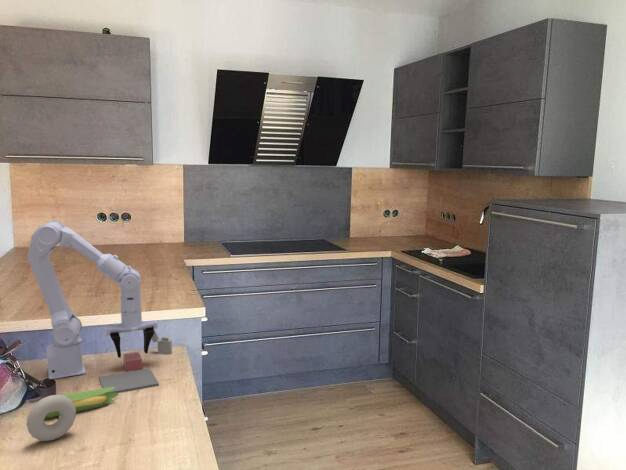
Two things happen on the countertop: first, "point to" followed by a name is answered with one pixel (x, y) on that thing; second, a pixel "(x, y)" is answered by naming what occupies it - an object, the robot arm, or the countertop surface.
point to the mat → (129, 380)
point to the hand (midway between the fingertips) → (132, 354)
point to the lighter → (163, 344)
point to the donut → (43, 408)
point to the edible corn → (87, 400)
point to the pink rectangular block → (132, 361)
